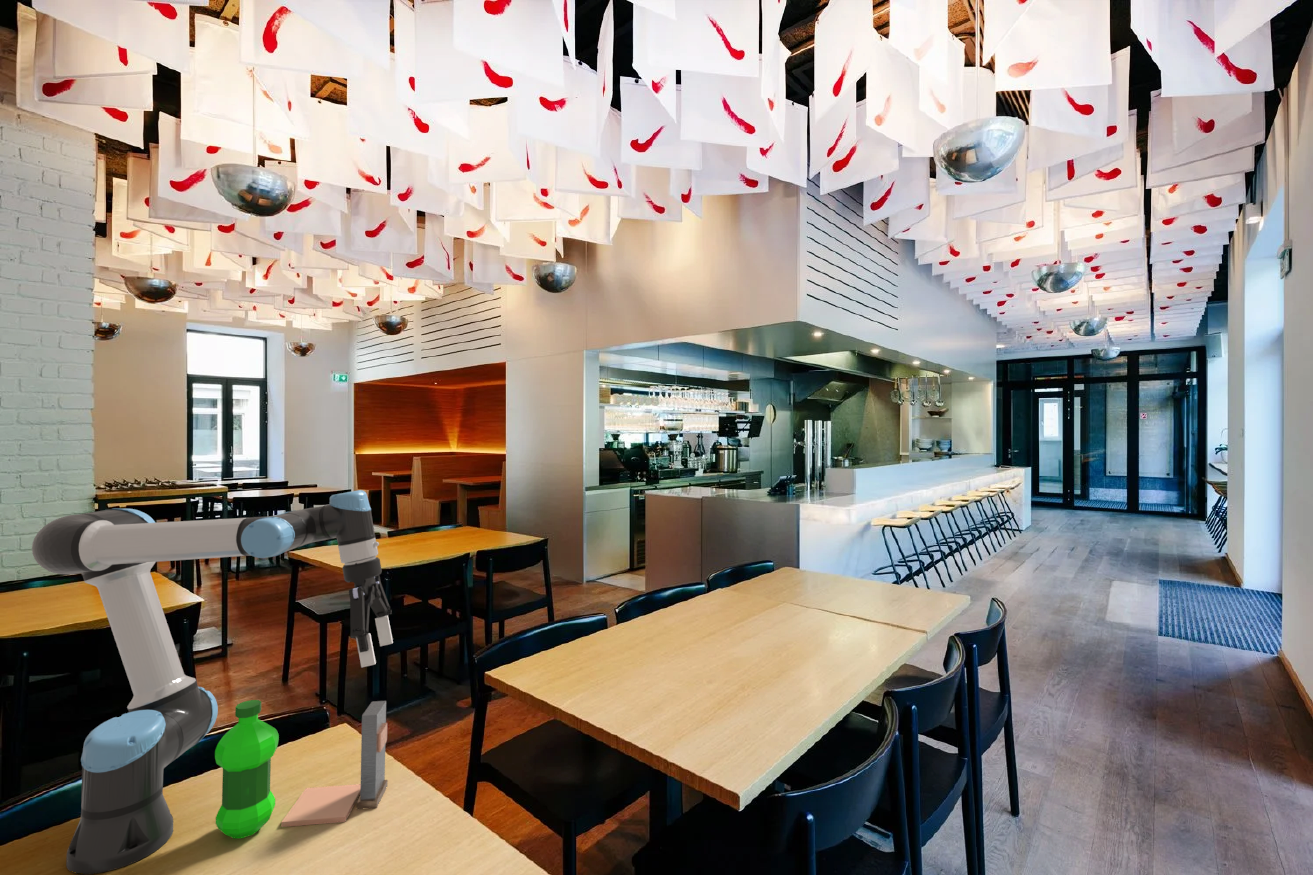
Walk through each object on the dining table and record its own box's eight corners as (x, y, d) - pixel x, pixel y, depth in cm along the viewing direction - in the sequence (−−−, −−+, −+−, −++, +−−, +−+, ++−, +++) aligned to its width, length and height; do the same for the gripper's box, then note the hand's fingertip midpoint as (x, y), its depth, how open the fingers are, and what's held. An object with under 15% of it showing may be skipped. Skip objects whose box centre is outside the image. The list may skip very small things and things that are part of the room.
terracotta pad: (281, 826, 120) (281, 821, 120) (305, 792, 132) (306, 787, 132) (345, 821, 122) (345, 816, 122) (363, 788, 134) (363, 783, 134)
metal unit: (356, 809, 126) (358, 716, 126) (368, 787, 134) (370, 700, 134) (377, 807, 127) (379, 715, 127) (387, 786, 135) (389, 699, 135)
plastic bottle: (206, 852, 112) (209, 719, 113) (224, 819, 122) (226, 697, 122) (268, 840, 116) (271, 711, 116) (280, 809, 126) (283, 690, 126)
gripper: (360, 567, 120) (379, 670, 121) (393, 547, 145) (409, 633, 145) (320, 575, 119) (340, 679, 119) (360, 554, 144) (376, 640, 144)
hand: (378, 654), depth 132 cm, fingers open, 13 cm apart
